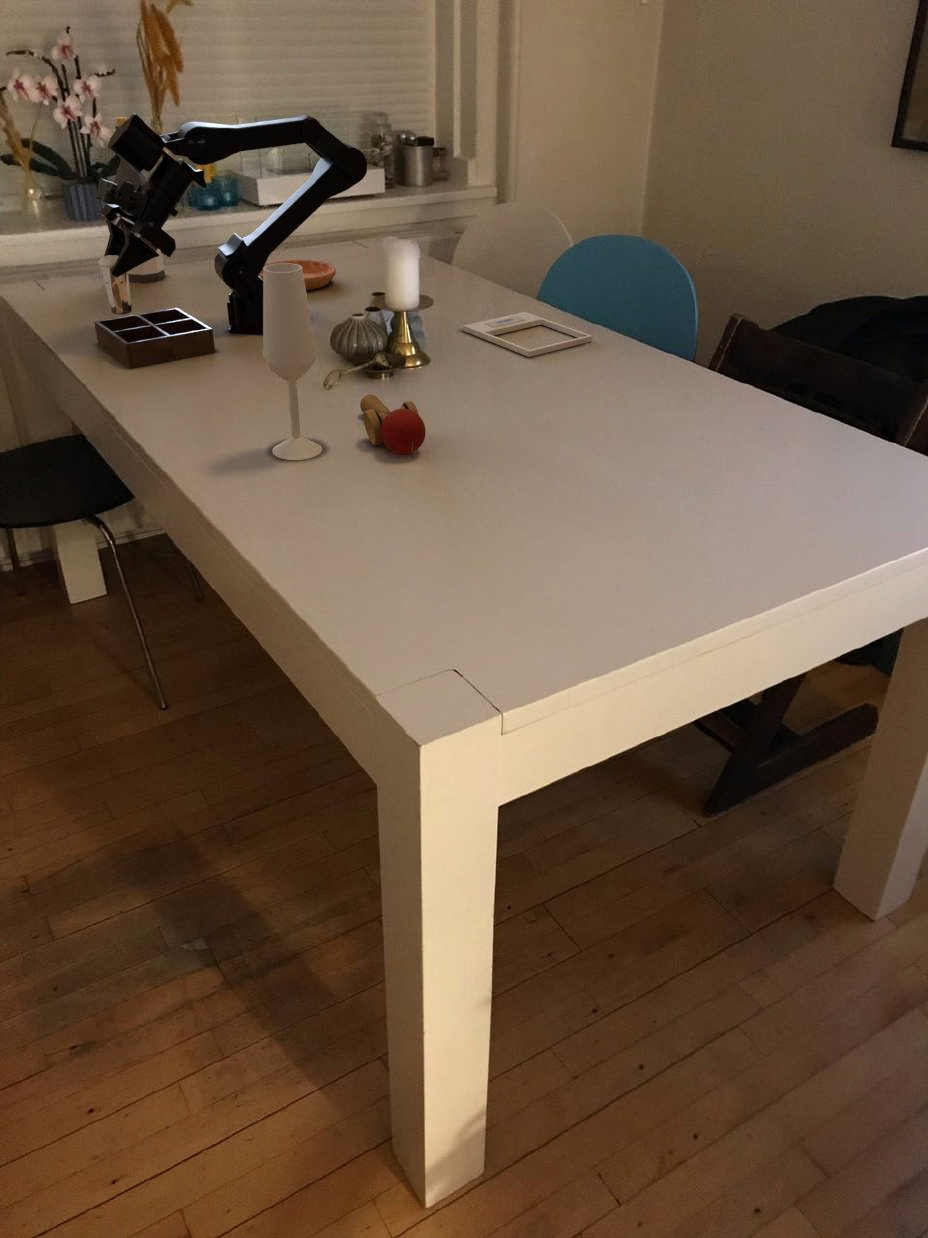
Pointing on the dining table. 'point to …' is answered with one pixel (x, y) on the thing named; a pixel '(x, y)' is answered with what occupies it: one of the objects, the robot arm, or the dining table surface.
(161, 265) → the wine bottle
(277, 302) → the champagne flute
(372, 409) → the kendama
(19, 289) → the dining table surface
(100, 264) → the milkshake
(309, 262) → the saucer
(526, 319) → the photo frame
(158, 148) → the robot arm
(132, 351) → the organiser
